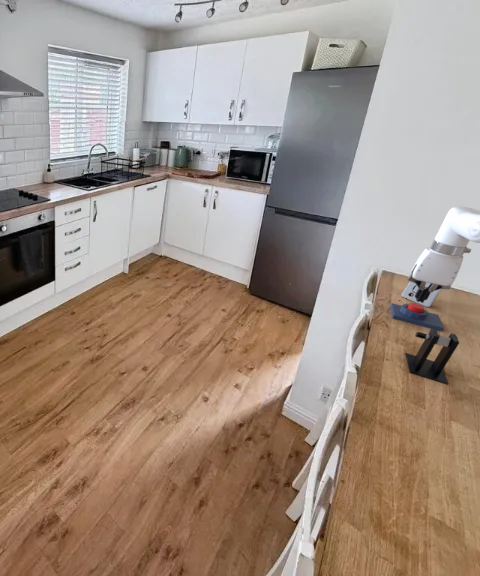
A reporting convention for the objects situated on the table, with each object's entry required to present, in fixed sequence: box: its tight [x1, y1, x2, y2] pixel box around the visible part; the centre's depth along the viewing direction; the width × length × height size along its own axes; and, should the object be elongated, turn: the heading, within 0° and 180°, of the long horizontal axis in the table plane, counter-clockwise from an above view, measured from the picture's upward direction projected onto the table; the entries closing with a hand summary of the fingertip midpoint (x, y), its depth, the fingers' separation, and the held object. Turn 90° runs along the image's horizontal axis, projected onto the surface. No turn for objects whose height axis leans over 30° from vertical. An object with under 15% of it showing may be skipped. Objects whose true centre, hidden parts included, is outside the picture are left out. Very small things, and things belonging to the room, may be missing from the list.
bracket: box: [404, 328, 460, 386], centre depth 97 cm, size 10×8×12 cm
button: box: [407, 302, 425, 313], centre depth 122 cm, size 4×4×2 cm
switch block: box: [388, 302, 444, 332], centre depth 122 cm, size 13×10×4 cm
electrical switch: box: [401, 281, 443, 308], centre depth 134 cm, size 9×5×9 cm, turn 28°
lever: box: [414, 331, 451, 347], centre depth 99 cm, size 13×5×2 cm, turn 149°
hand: (419, 300), depth 121 cm, fingers closed
